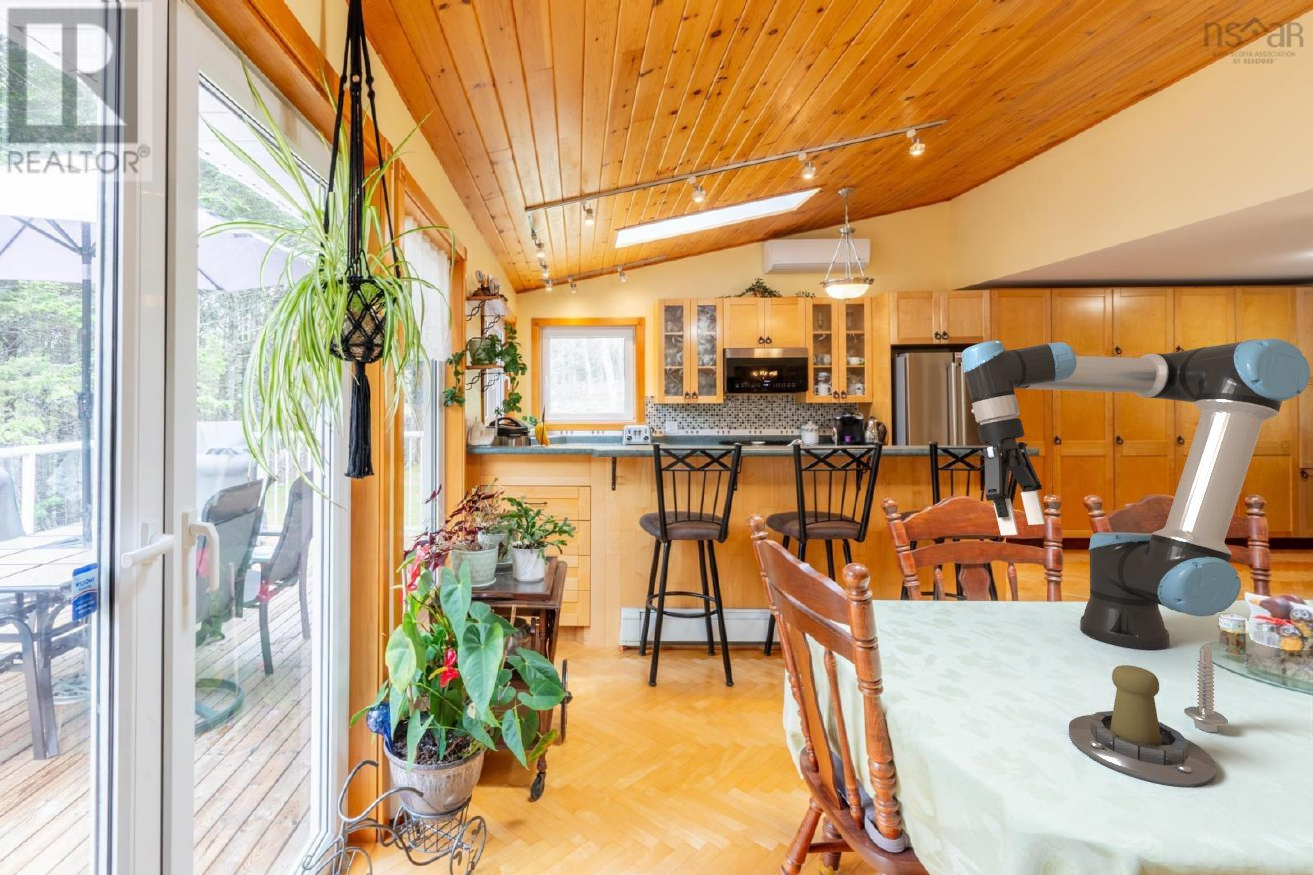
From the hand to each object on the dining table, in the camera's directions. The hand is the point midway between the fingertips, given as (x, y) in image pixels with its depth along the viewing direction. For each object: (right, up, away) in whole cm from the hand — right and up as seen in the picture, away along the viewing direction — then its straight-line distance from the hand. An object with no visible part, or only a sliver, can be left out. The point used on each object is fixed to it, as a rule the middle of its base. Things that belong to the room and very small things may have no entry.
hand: (1023, 529), depth 107 cm
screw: (+15, -28, -20) cm, 37 cm away
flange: (-1, -28, -26) cm, 38 cm away
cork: (-1, -27, -26) cm, 38 cm away
